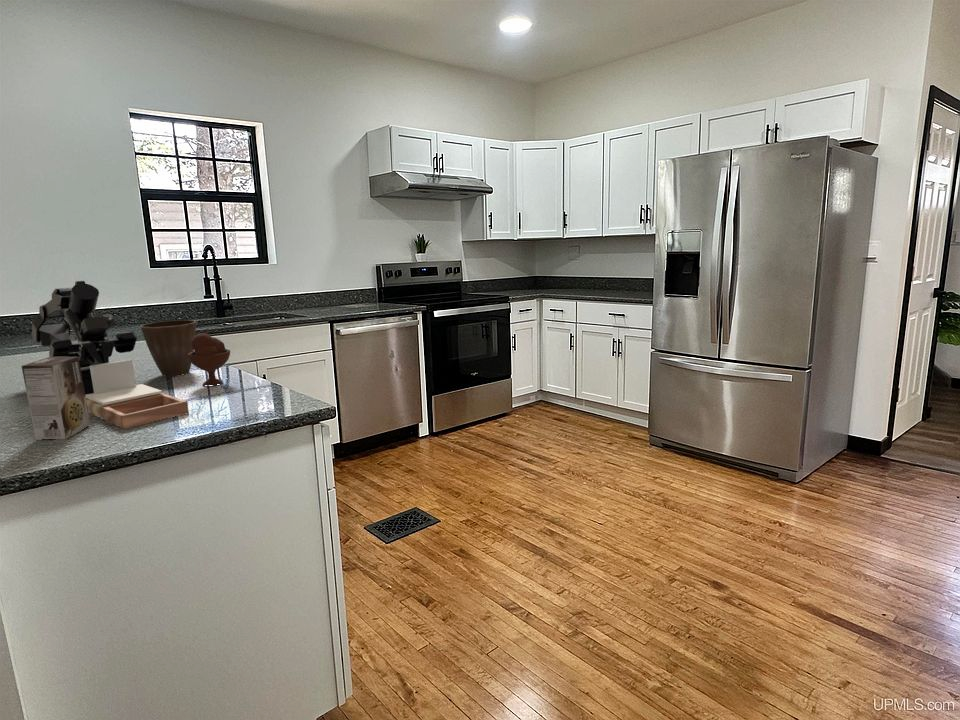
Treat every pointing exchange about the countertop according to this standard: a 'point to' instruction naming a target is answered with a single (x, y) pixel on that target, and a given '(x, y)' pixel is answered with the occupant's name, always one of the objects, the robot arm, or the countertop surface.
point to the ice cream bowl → (208, 355)
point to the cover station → (139, 410)
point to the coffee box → (56, 397)
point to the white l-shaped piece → (116, 383)
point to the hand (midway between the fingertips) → (106, 371)
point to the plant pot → (170, 345)
